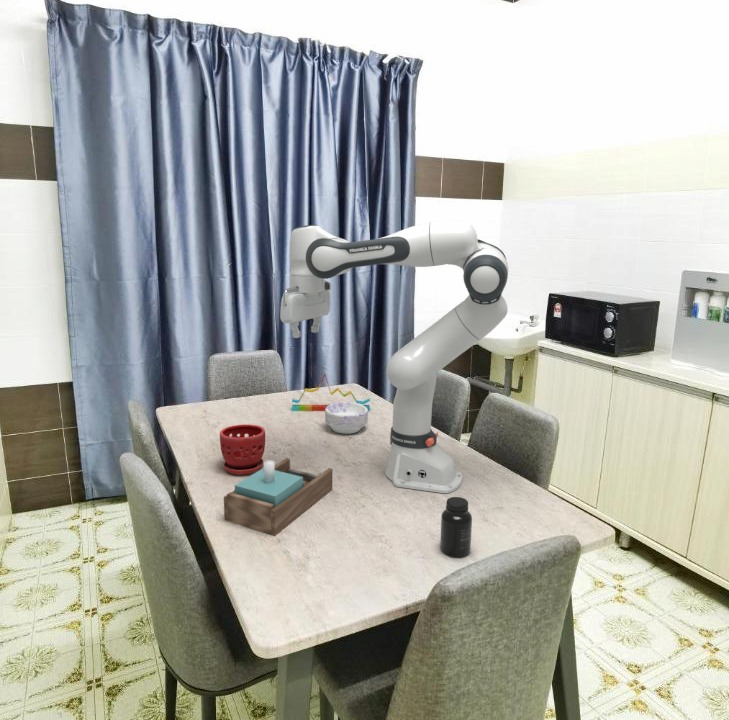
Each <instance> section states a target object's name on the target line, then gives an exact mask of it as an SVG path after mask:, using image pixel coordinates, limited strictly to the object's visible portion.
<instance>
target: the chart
mask: <svg viewBox="0 0 729 720" xmlns="http://www.w3.org/2000/svg"><path fill="white" fill-rule="evenodd" d="M324 378H325V381H326V384H327V387H328V390H329V394H330V396H332V395H334V394H335V393H337V392H338V393H340V394H341V395H342V397H344V398H345V397H347V396H349V395H351V396H352V398H353V400H354V401H355V403H358V404H361V405H364V406H365V407H366V408H367V409H368V412H370V411H371V409H370V407H371V406H370V404H367V403H369V402H370V401H371V399H370V398H367V399H365V400H363V401H362V400H359V399H358V400H357V398H356V397H355V395H354V394H353V392H352V391H351V390H349V391H348V392H346V393H344V392H343V391H342V390H341V389H340V388H339V387H336V388H335V389H334V390H332V391H331V388H330V384H329V382H328V378H327V375H326V373H324V374H323V376H322V379H321V381H320V382H319V385H318V387H316V388H312V389H310V388H305V389H304V390H303V392H302V394H301V396H300V397H299V399H294V398H292V400H291V402H292V403H296V404H292V405H291V411H292V412H325V408H326V407H327V406H328V405H329V404H299V403H300V402H301V400H302V398H303V396H304V394H305V392H309V393H314V392H316V391H319V390H320V387H321V385H322V383H323V381H324Z"/></svg>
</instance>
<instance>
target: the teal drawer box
mask: <svg viewBox="0 0 729 720" xmlns="http://www.w3.org/2000/svg"><path fill="white" fill-rule="evenodd" d="M263 462H264V463H263V467H261V468H260V469H259V470H258V471H256V472H253V473H252V474H251V475H250V476H248V477H246V478H245V479H243V480H242V481H241V480H240V481H239V482H238V483H236V484H235V485H234V490H235V494H238V495H242V496H245V497H249V498H253V499H256V500H260V501H263V502H267V503H270V504H274V508H275V507H276V506H278V505H279V504H281V503H282V502H283V501H285V500H286V499H287V498H289V497H290V496H291V495H293V494H294V493H296V492H297V491H298V490H300V489H301V488H302V487H304V482H303V477H300V476H296V475H292V474H288V473H284V472H280V471H276V470H275V469H274V466H275V461H274V460H270V459H269V460H265V461H263Z"/></svg>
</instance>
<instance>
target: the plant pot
mask: <svg viewBox="0 0 729 720" xmlns="http://www.w3.org/2000/svg"><path fill="white" fill-rule="evenodd" d="M238 435H239V436H238ZM245 435H248V436H247V437H246V436H245ZM219 444H220V445H219V446H220V450H221V451H220V452H221V454H222V458H223V459H224V462H223V468H224V469H225V471H227V472H228V473H230V474H233V475H240V476H241V475H250V474H254V473H256V472H257V471H259V470H261V469H262V468H263V467H264V462H265V461H264V460H263V459H262V458H263V456H264V452H265V447H266V430H265V428H264V427H262V426H260V425H256V424H237V425H231V426H230V425H229V426H227V427H225V428H222V430H220V432H219Z"/></svg>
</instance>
